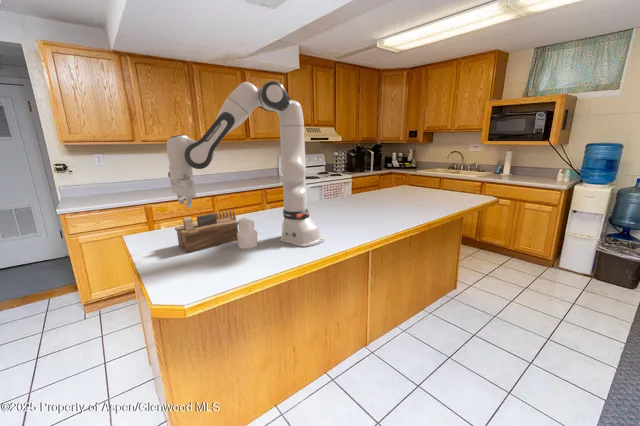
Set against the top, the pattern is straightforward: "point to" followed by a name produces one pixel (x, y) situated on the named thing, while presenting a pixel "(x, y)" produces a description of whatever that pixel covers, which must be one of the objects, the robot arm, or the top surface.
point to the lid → (207, 224)
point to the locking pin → (188, 223)
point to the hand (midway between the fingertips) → (185, 205)
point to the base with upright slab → (246, 234)
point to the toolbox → (207, 239)
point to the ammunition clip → (226, 215)
